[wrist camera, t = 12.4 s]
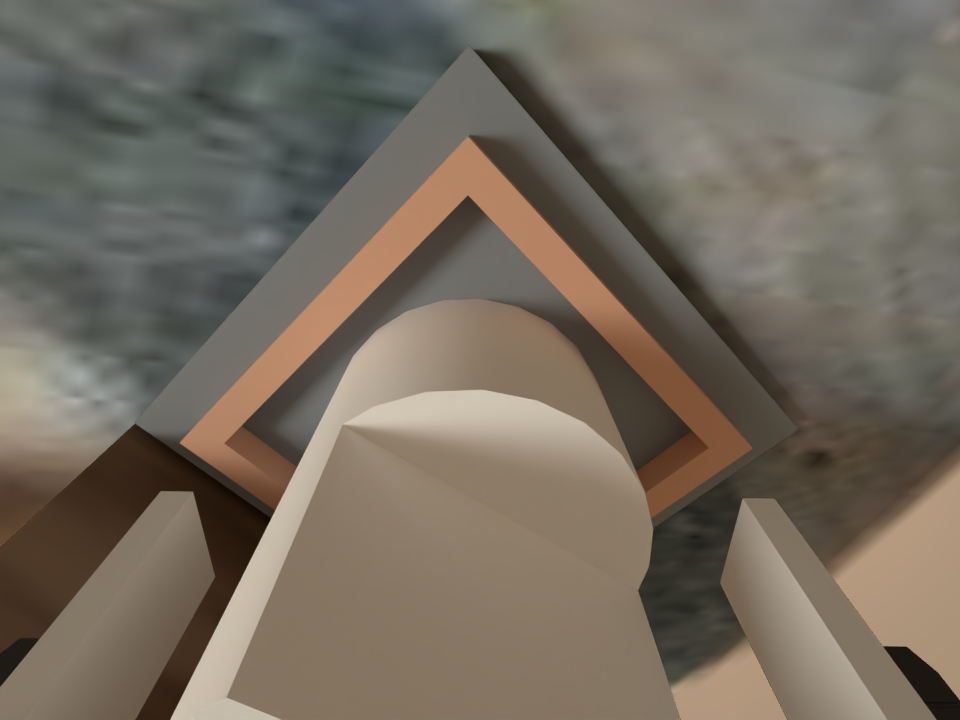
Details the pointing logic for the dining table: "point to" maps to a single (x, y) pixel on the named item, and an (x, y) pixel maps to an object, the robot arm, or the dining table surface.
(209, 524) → the brown wooden panel
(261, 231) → the dining table surface
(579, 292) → the square coaster tray
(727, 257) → the dining table surface
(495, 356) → the cylinder with rectangular tab
